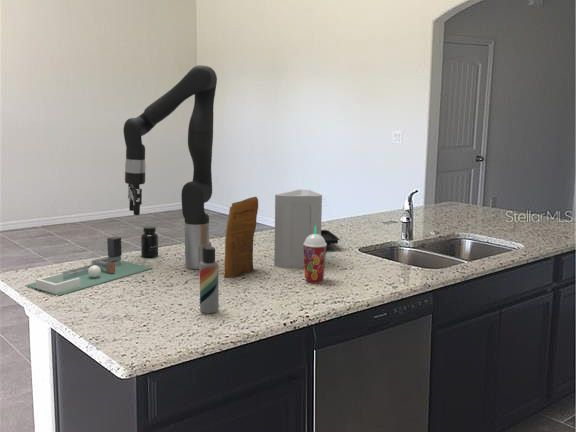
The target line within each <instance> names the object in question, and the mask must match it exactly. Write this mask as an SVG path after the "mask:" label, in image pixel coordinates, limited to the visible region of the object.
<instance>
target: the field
mask: <svg viewBox="0 0 576 432" xmlns="http://www.w3.org/2000/svg"><path fill="white" fill-rule="evenodd" d="M120 261H121V265H118V266H115V273H109V272H106V269H103V270H101V273H100V275H99V276H98V277H95V278H93V277H91V276H89V274H85V275H81V276H77V277H73V278H70V279H66V280H63V282H64V281H68V280H72V279H75V278H80V284H81V287H78V288H74V289H71V290H67V291H64V292H60V293H57V294H54V293H51V292H48V291H45V292H44V293H46V292H47V293H46V294H49V293H51V294H50V295H53V294H54V296H56V295H57V297H60V295H61V296H65V295H68V294H71V293H74V292H78V291H82V290H85V289H88V288H91V287H95V286H99V285H102V284H105V283H109V282H112V281H116V280H119V279H122V278H126V277H129V276H130V277H131V276H133V275H137V274H140V273H144V272H146V271H150V270H153V267H150V266H146V265H143V264H137V263H133V262H129V261H124V260H120ZM27 286H28V288H30V287H31V289H33V288H35V289H34V290H36V289H38V288H36V281H35V282H33V283H28V284H25V287H27ZM40 290H41V289H38V290H37V291H40ZM43 291H44V290H41V292H43ZM64 294H65V295H64Z"/></svg>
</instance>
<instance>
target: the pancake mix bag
mask: <svg viewBox="0 0 576 432" xmlns="http://www.w3.org/2000/svg"><path fill="white" fill-rule="evenodd" d="M258 210H259V199H258V197H257V196H253V197H252V196H251V197H248V198H246V199H243V200H240V201H237V202H232V203H231V206H229V212H228V215H227V216H228V217H227V222H226V228H225V238H224V239H225V240H224V274H223V277H224V278H236V277H239V276H241V275H244V274H247V273H250V272H253V271H254V237H255V236H254V235H255V232H256V229H257V216H258Z"/></svg>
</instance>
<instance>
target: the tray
mask: <svg viewBox="0 0 576 432" xmlns="http://www.w3.org/2000/svg"><path fill="white" fill-rule="evenodd" d="M321 236H322V237H323V238H324V240H325V242H326V243H327V245H326V247H327V246H331V244H333V245H335V244H339V241H341V240H340V238H339V237H337V236H336V235H335V234H334V233H332V232H331V231H330V230H327V229H321Z"/></svg>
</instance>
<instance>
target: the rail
mask: <svg viewBox="0 0 576 432" xmlns="http://www.w3.org/2000/svg"><path fill="white" fill-rule="evenodd" d="M121 261H122V260H119V261H115V262H114V263H115V266H118V265H121ZM91 266H92V264H89V265H84V266H80V267H76V268H72V269H68V270H66V271H61V272H57V273H53V274H50V275H49V276H51V275H55V274H59V273H63V280H66V279H70V278H73V277H77V276H81V275H85V274H88V269H89V268H90V267H91ZM99 267H100V269H101V270H103V269H106V268H105V267H101V266H99Z"/></svg>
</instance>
